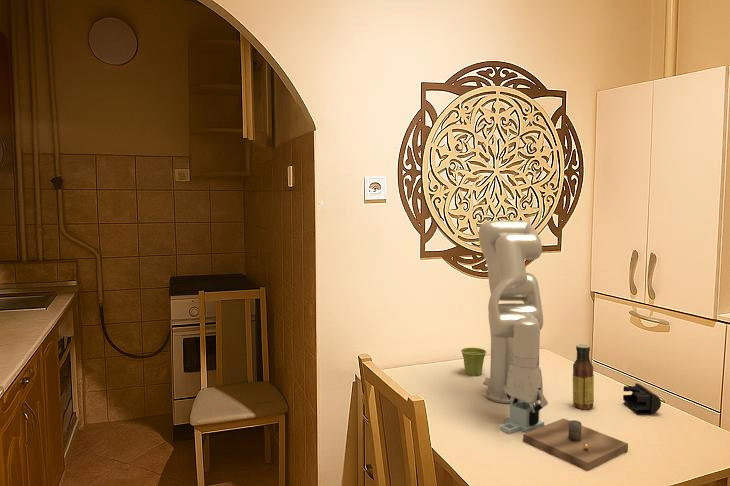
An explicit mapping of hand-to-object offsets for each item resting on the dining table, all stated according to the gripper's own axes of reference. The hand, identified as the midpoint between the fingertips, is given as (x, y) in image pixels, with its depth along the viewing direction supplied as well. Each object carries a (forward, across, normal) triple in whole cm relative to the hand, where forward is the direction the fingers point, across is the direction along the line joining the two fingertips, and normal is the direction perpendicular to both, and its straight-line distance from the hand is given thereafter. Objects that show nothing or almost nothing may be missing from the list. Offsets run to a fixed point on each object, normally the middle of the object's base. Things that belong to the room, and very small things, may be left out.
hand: (524, 419), depth 166 cm
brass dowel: (-1, +23, -3) cm, 23 cm away
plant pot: (+2, -41, +21) cm, 46 cm away
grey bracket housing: (+1, 0, -2) cm, 3 cm away
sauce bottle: (+2, +2, +26) cm, 26 cm away
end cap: (+2, +14, +39) cm, 41 cm away
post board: (+1, +17, 0) cm, 17 cm away
